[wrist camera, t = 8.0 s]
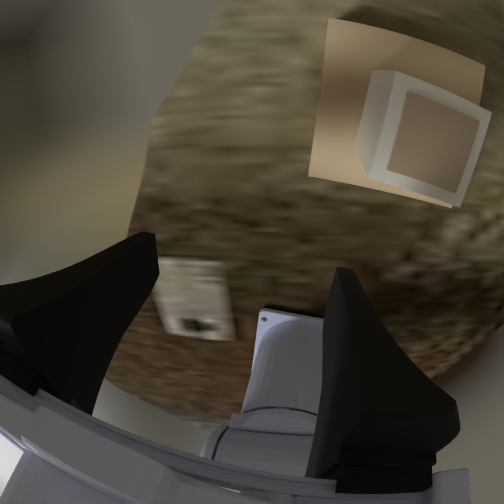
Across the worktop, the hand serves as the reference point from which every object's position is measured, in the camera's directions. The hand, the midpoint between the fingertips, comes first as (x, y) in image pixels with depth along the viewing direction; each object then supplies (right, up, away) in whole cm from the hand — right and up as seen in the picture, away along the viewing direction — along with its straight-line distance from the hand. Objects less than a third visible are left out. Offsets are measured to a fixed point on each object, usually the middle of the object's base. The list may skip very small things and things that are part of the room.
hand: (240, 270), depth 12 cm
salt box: (+8, +8, +2) cm, 11 cm away
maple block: (+9, +9, +4) cm, 14 cm away
